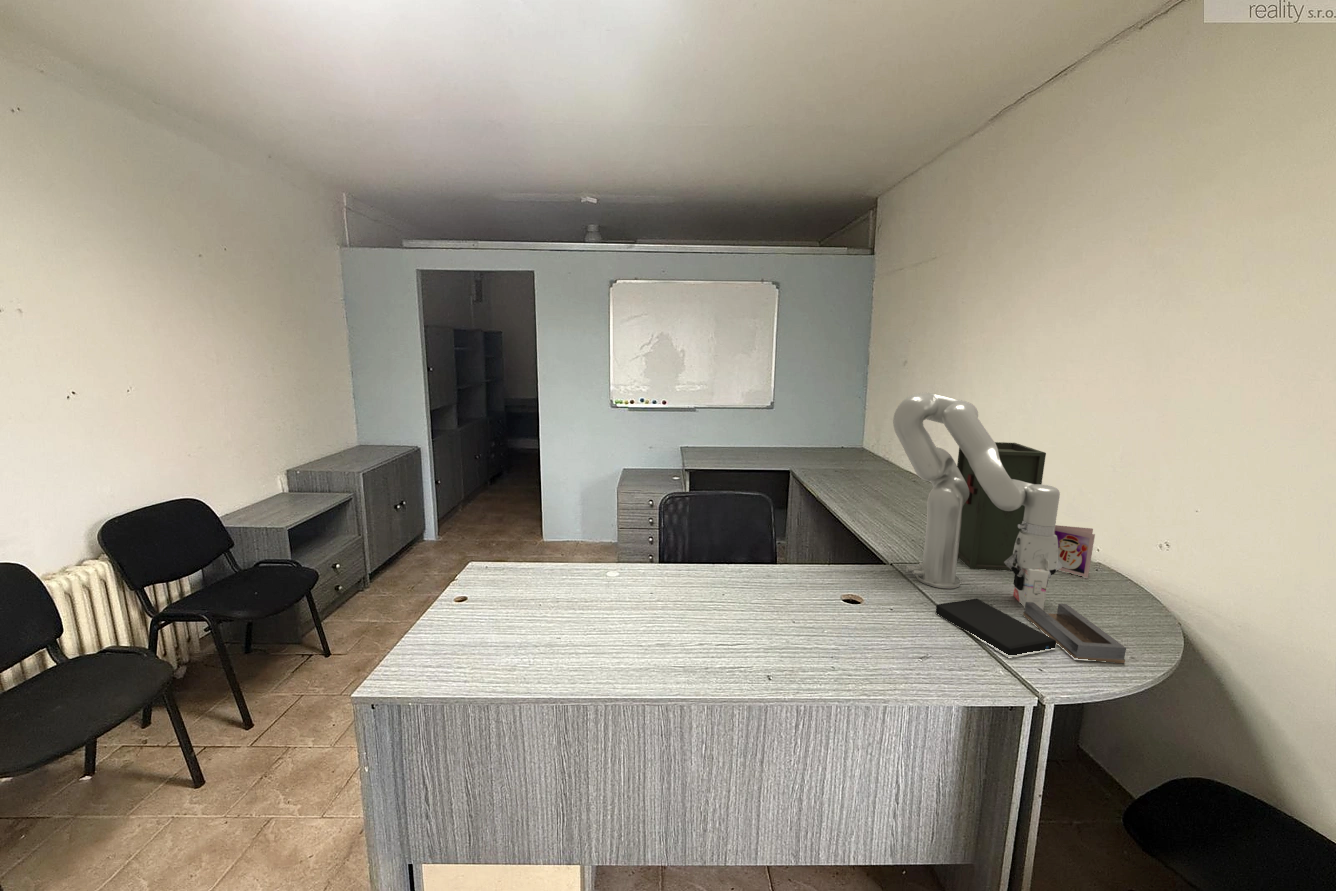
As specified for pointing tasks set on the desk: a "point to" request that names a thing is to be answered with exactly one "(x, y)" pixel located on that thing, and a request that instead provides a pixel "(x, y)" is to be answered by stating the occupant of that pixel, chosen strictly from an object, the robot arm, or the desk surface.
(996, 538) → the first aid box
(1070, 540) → the greeting card
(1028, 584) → the ink cartridge box
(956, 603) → the external hard drive
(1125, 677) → the desk surface
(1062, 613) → the frame
